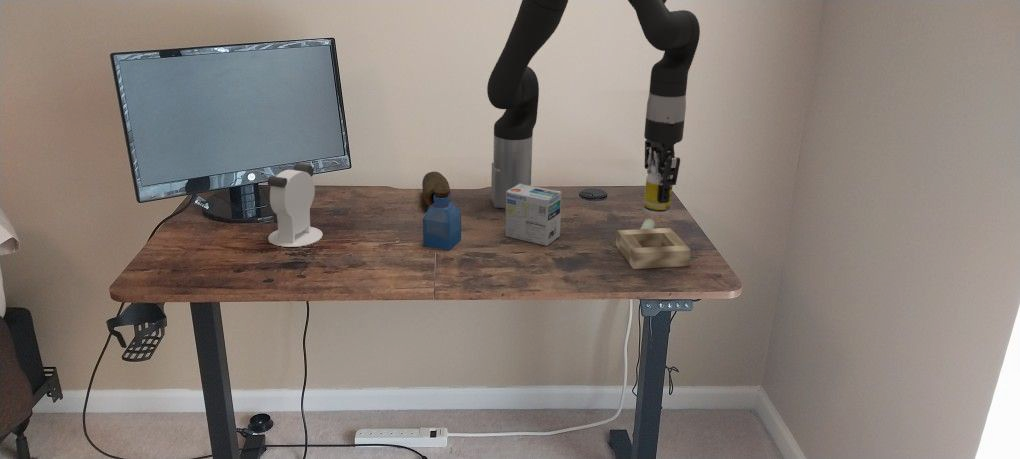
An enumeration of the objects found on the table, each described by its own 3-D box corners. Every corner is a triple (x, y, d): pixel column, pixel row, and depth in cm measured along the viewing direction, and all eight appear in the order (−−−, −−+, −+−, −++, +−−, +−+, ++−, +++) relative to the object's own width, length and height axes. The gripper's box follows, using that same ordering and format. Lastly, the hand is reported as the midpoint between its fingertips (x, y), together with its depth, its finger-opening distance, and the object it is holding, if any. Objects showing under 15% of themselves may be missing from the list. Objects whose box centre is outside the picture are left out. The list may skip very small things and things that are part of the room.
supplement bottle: (669, 216, 157) (674, 170, 154) (642, 214, 158) (646, 168, 155) (670, 207, 162) (674, 162, 159) (643, 204, 163) (647, 160, 160)
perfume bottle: (461, 239, 170) (461, 187, 165) (449, 250, 164) (449, 197, 160) (435, 235, 172) (434, 183, 167) (423, 246, 166) (422, 193, 162)
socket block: (633, 269, 158) (634, 253, 156) (615, 245, 169) (617, 230, 167) (689, 265, 160) (691, 250, 158) (668, 242, 171) (670, 227, 169)
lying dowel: (645, 244, 171) (650, 235, 170) (634, 238, 171) (639, 229, 170) (651, 231, 178) (657, 222, 177) (641, 226, 178) (646, 216, 177)
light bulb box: (560, 236, 173) (563, 190, 168) (547, 247, 167) (549, 199, 163) (518, 226, 177) (519, 182, 173) (503, 236, 172) (504, 190, 168)
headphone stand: (290, 223, 176) (284, 159, 170) (334, 230, 173) (329, 166, 167) (257, 243, 166) (250, 176, 160) (303, 251, 162) (297, 183, 156)
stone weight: (454, 212, 185) (454, 185, 182) (425, 214, 183) (424, 187, 181) (446, 191, 198) (446, 166, 196) (418, 192, 197) (418, 167, 194)
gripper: (635, 107, 159) (629, 186, 165) (659, 126, 146) (651, 210, 152) (670, 107, 160) (662, 185, 166) (697, 125, 147) (688, 208, 153)
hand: (657, 196), depth 159 cm, fingers closed on supplement bottle, 5 cm apart
